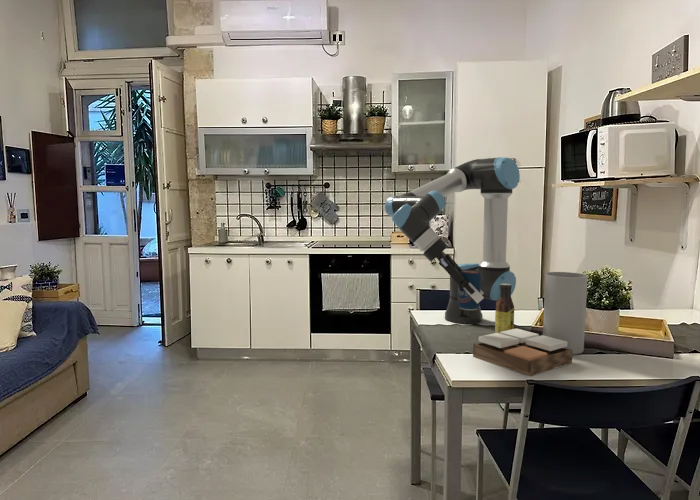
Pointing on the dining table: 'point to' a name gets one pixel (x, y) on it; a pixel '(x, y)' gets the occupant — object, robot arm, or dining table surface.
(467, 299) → the soda can
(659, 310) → the dining table surface
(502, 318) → the sauce bottle
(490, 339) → the key
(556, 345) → the key
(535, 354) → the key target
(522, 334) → the key
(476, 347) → the keypad
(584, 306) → the cylinder vase
